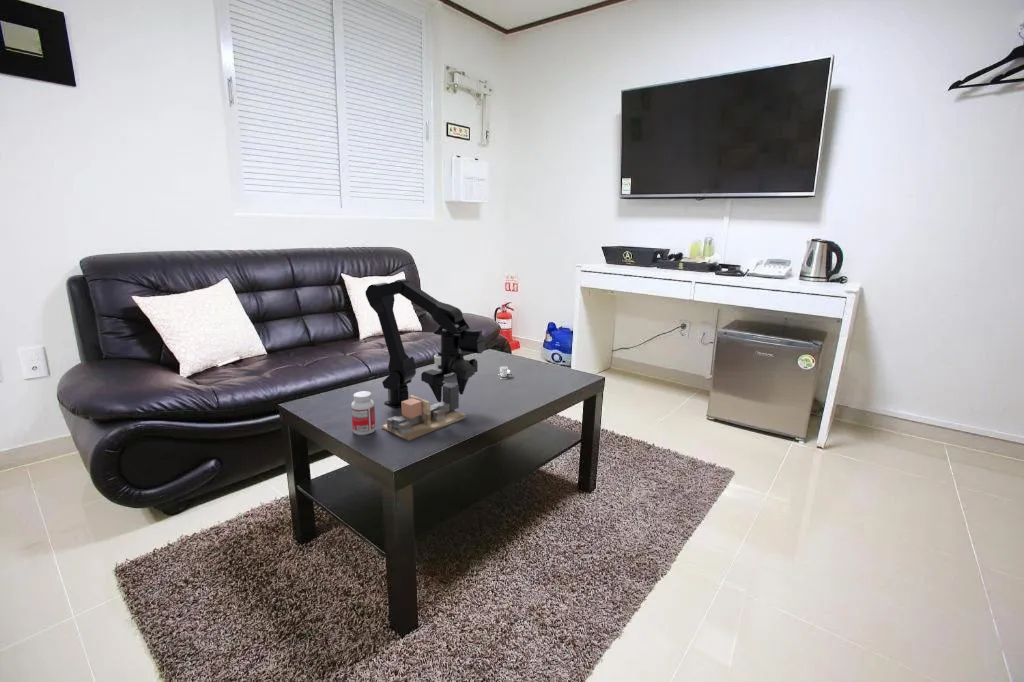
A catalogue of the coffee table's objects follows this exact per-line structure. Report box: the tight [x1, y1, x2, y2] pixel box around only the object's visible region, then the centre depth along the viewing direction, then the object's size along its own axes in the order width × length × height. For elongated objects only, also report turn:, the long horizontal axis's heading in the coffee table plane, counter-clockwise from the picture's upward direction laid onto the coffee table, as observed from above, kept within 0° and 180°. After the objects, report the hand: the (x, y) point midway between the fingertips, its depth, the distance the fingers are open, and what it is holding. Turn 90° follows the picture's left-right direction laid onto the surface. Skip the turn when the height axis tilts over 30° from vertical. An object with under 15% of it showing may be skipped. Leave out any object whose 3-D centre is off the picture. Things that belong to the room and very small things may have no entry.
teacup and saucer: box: [499, 365, 512, 378], centre depth 185 cm, size 9×8×4 cm
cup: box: [433, 353, 454, 378], centre depth 184 cm, size 11×8×8 cm
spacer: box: [400, 398, 422, 419], centre depth 135 cm, size 4×4×4 cm
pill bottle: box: [350, 390, 376, 436], centre depth 132 cm, size 6×6×11 cm
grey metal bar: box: [393, 382, 460, 430], centre depth 140 cm, size 4×22×8 cm, turn 141°
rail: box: [381, 394, 467, 442], centre depth 139 cm, size 12×22×8 cm, turn 141°
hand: (450, 398), depth 147 cm, fingers open, 9 cm apart
